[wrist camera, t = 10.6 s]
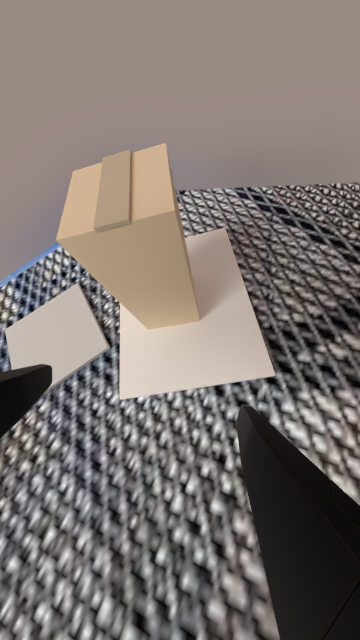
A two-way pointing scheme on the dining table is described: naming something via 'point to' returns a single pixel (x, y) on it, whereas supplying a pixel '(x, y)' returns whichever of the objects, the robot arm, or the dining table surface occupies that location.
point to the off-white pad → (197, 332)
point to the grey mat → (58, 336)
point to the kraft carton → (132, 235)
